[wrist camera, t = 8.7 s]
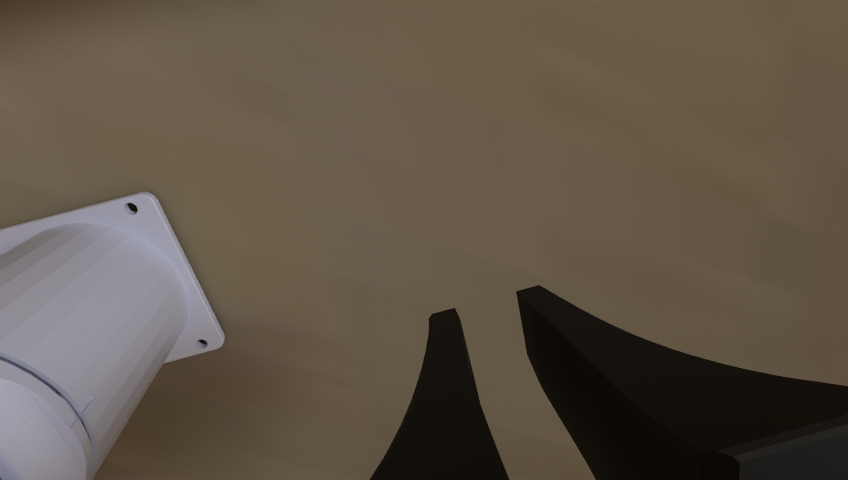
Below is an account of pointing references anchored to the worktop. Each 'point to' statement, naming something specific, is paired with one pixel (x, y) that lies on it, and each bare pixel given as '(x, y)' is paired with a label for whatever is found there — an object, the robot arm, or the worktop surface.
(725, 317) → the worktop surface
